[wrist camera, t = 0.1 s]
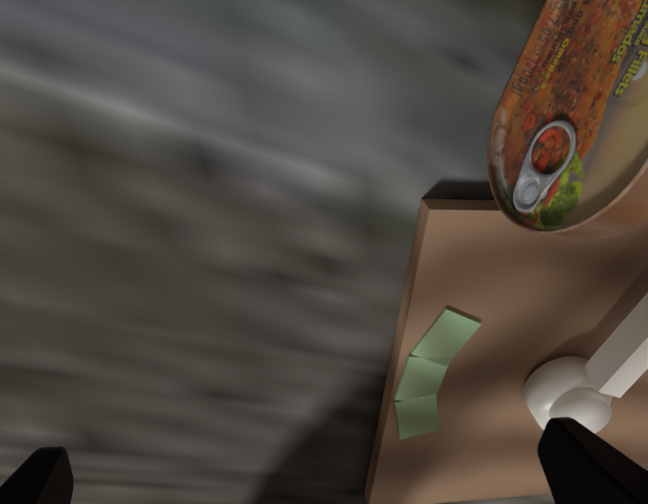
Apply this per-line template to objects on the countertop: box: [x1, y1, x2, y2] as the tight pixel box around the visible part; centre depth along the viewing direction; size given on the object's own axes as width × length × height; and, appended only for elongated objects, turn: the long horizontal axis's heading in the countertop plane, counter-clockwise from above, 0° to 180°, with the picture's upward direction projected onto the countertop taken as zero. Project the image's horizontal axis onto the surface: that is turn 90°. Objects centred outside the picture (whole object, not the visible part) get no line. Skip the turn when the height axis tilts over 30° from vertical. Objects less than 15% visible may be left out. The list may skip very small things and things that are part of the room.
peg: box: [522, 293, 648, 433], centre depth 27 cm, size 12×4×3 cm, turn 155°
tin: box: [487, 0, 648, 239], centre depth 17 cm, size 15×3×8 cm, turn 162°
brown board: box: [364, 199, 648, 504], centre depth 30 cm, size 22×20×1 cm
